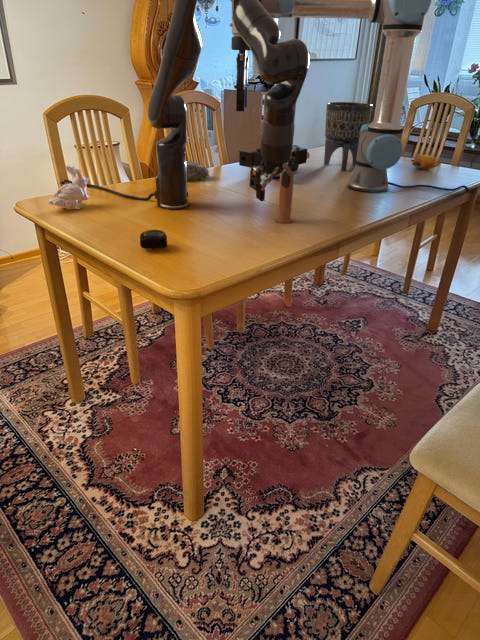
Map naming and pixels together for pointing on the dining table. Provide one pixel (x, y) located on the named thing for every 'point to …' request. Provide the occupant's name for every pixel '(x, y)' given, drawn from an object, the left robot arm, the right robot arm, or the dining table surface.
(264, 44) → the left robot arm
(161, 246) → the tape measure
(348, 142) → the planter
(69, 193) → the figurine
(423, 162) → the toy
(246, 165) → the mechanical component
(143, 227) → the dining table surface
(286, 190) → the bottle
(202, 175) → the rock
